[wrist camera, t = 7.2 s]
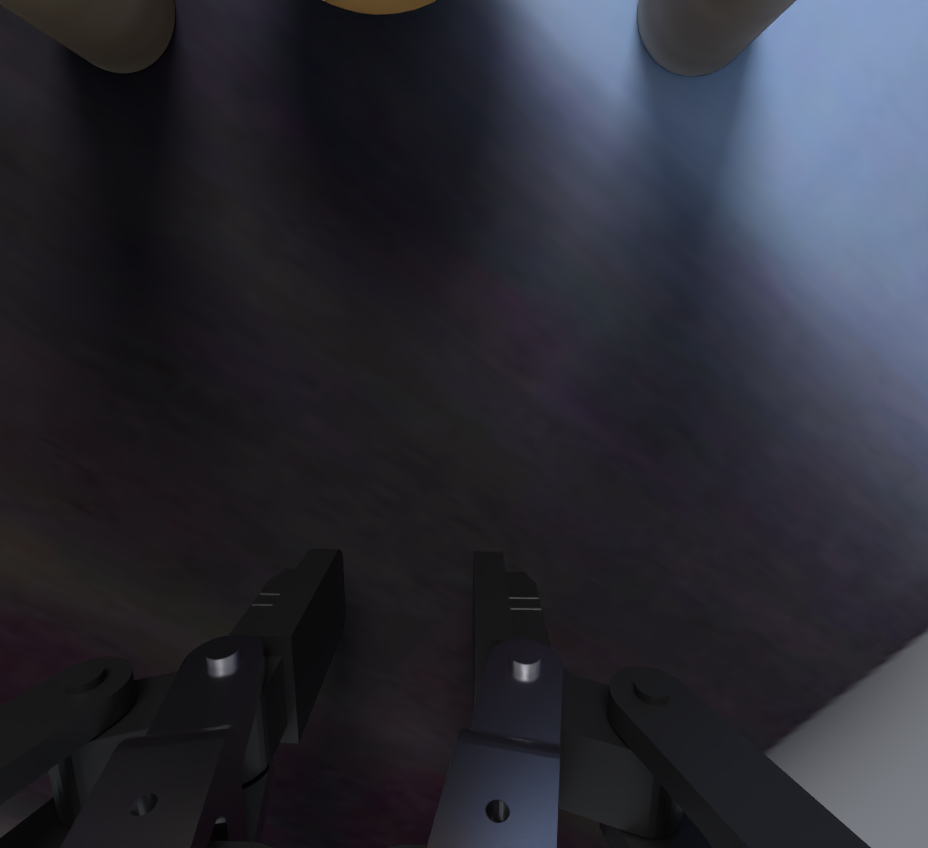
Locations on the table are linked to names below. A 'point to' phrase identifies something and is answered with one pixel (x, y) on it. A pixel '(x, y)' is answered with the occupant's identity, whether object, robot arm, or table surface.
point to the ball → (379, 5)
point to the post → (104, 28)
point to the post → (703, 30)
